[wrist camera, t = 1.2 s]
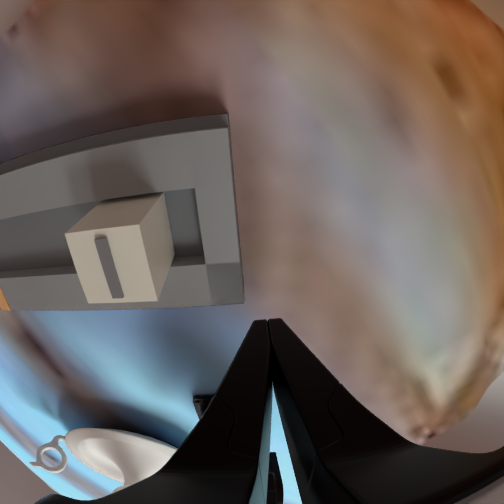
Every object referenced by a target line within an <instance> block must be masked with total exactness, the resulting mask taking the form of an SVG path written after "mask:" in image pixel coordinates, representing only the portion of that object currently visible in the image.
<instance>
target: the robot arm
mask: <svg viewBox="0 0 504 504" xmlns="http://www.w3.org/2000/svg"><path fill="white" fill-rule="evenodd" d="M272 382H273V386H272ZM273 388H274V393H275V397H276V401H277V405H278V409H279V413H280V417H281V421H282V425H283V429H284V433H285V437H286V441H287V445H288V449H289V453H290V457H291V461H292V465H293V469H294V473H295V477H296V481H297V485H298V489H299V493H300V497H301V501H302V504H504V446H503V447H501V448H500V449H498V450H495V451H492V452H488V453H467V452H459V451H452V450H445V449H438V448H432V447H426V446H421V445H418V444H415V443H413V442H410V441H408V440H407V439H405V438H404V437H402V436H401V435H399V434H398V433H397V432H395V431H394V430H393V429H392V428H390V427H389V426H388V425H387V424H385V423H384V422H383V421H381V420H380V419H379V418H378V417H376V416H375V415H374V414H373V413H371V412H370V411H369V410H368V409H367V408H365V407H364V406H363V405H362V404H361V403H360V402H359V401H358V400H356V399H355V398H354V397H353V396H352V395H351V394H350V393H349V392H348V391H347V389H346V388H345V387H344V386H343V385H342V384H341V383H339V381H338V380H337V379H336V378H335V377H334V376H333V375H332V373H331V372H330V371H329V370H328V369H327V368H326V367H325V366H324V365H323V364H322V363H321V362H320V360H319V359H318V358H317V357H316V356H315V355H314V354H313V353H312V352H311V351H310V350H309V349H308V347H307V346H306V345H305V344H304V343H303V342H302V341H301V340H300V339H299V338H298V336H297V335H296V334H295V333H294V332H293V331H292V330H291V329H290V328H289V327H288V325H287V324H286V323H285V322H284V321H283V320H282V319H281V318H276V319H269V320H268V322H267V320H265V319H264V320H255V321H253V323H252V325H251V327H250V329H249V331H248V333H247V334H246V336H245V338H244V340H243V342H242V344H241V346H240V348H239V350H238V352H237V354H236V356H235V357H234V359H233V361H232V363H231V365H230V367H229V369H228V371H227V373H226V374H225V376H224V378H223V380H222V382H221V384H220V386H219V388H218V389H217V391H216V393H215V395H213V396H194V397H193V404H194V406H195V409H196V412H197V414H198V417H199V422H198V423H197V424H196V426H195V427H194V429H193V430H192V431H191V433H190V434H189V435H188V436H187V438H186V439H185V440H184V442H183V443H182V444H181V445H180V447H179V448H178V449H177V450H176V452H175V453H174V454H173V455H172V457H171V458H170V459H169V460H168V462H167V463H166V464H165V465H164V466H163V467H162V468H161V469H160V470H159V471H157V472H156V473H154V474H153V475H151V476H150V477H148V478H145V479H143V480H141V481H139V482H137V483H135V484H133V485H131V486H128V487H126V488H124V489H122V490H119V491H117V492H115V493H112V494H110V495H108V496H105V497H103V498H99V499H96V500H89V501H87V500H76V499H72V498H69V497H66V496H62V495H59V494H49V495H47V496H46V497H43V498H42V499H40V500H38V501H37V502H36V503H35V504H283V484H282V479H281V474H280V470H279V465H278V461H277V456H276V452H270V434H271V414H272V390H273ZM269 452H270V453H269Z"/></svg>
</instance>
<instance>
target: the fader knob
mask: <svg viewBox="0 0 504 504" xmlns="http://www.w3.org/2000/svg"><path fill="white" fill-rule="evenodd" d="M65 237H66V240H67V244H68V247H69V250H70V253H71V256H72V259H73V262H74V265H75V268H76V271H77V274H78V277H79V280H80V283H81V285H82V288H83V291H84V293H85V296H86V299H87V301H88V304H90V303H125V302H150V301H158V299H159V297H160V294H161V291H162V288H163V285H164V282H165V280H166V277H167V274H168V271H169V269H170V266H171V263H172V261H173V258H174V255H175V251H174V246H173V241H172V235H171V230H170V224H169V219H168V213H167V207H166V201H165V195H164V192H158V193H151V194H143V195H136V196H128V197H121V198H115V199H108V200H103V201H101V202H100V203H99V204H98V205H97V206H95V207H94V208H93V209H92V210H91V211H90V212H88V213H87V214H86V215H85V216H84V217H83V218H81V219H80V220H79V221H78V222H77V223H76V224H75V225H74V226H72V227H71V228H70V229H69V230H68V231H67V232H66V233H65Z"/></svg>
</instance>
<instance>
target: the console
mask: <svg viewBox="0 0 504 504" xmlns="http://www.w3.org/2000/svg"><path fill="white" fill-rule="evenodd" d="M158 192H164V195H165V201H166V207H167V213H168V219H169V224H170V230H171V235H172V241H173V246H174V251H175V255H174V258H173V261H172V263H171V266H170V269H169V271H168V274H167V277H166V280H165V282H164V285H163V288H162V291H161V294H160V297H159V299H158V301H150V302H125V303H90V304H88V301H87V299H86V296H85V293H84V291H83V288H82V285H81V283H80V280H79V277H78V274H77V271H76V268H75V265H74V262H73V259H72V256H71V253H70V250H69V247H68V244H67V240H66V237H65V233H66V232H67V231H68V230H69V229H70V228H71V227H72V226H74V225H75V224H76V223H77V222H78V221H79V220H80V219H81V218H83V217H84V216H85V215H86V214H87V213H88V212H90V211H91V210H92V209H93V208H94V207H95V206H97V205H98V204H99V203H100V202H101V201H103V200H108V199H115V198H121V197H128V196H136V195H143V194H151V193H158ZM242 303H244V281H243V271H242V260H241V250H240V239H239V228H238V217H237V206H236V195H235V184H234V172H233V161H232V149H231V137H230V125H229V113H225V114H215V115H205V116H197V117H189V118H182V119H175V120H168V121H162V122H156V123H150V124H144V125H139V126H133V127H128V128H123V129H118V130H114V131H109V132H105V133H100V134H96V135H92V136H88V137H84V138H80V139H76V140H72V141H69V142H65V143H61V144H58V145H54V146H51V147H48V148H44V149H41V150H38V151H35V152H32V153H29V154H26V155H23V156H20V157H17V158H14V159H11V160H9V161H6V162H3V163H0V309H2V310H126V309H155V308H178V307H196V306H213V305H228V304H242Z"/></svg>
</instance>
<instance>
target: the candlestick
mask: <svg viewBox="0 0 504 504" xmlns="http://www.w3.org/2000/svg"><path fill="white" fill-rule="evenodd" d="M61 440H63V441H65V443H66V446H67V447H68V449H69V450H70V452H71V453H72V454H73V455H74V456H75V457H76V458H77V459H78V460H80V461H81V462H82V463H84V464H85V465H87V466H88V467H90V468H91V469H93V470H95V471H97V472H98V473H100V474H102V475H105V476H107V477H109V478H112V479H114V480H117V481H119V482H122V483H124V486H120V487H118V488H116V489H115V490H114V491H113V492H112V493H115V492H117V491H119V490H122V489H124V488H126V487H128V486H131V485H133V484H135V483H137V482H139V481H141V480H143V479H145V478H148V477H150V476H151V475H153V474H154V473H156V472H157V471H159V470H160V469H161V468H162V467H163V466H164V465H165V464H166V463H167V462H168V460H169V459H170V458H171V457H172V455H173V454H174V453H175V452H176V450H177V448H175V447H173V446H171V445H169V444H167V443H165V442H163V441H160V440H157V439H154V438H152V437H149V436H144V435H141V434H138V433H133V432H129V431H124V430H116V429H99V428H78V429H74V430H71V431H69V432H68V433H67V434H66V435H65V436H62V435H57V436H55V437H54V438H53V440H52V441H51V442H49V443H46V444H44V445H42V446H40V447H39V449H38V450H37V461H36V462H30V464H31V465H32V466H34V467H36V468H43V469H44V470H46V471H48V472H51V473H59V472H61V471H63V470H64V469H65V467H66V465H67V457H66V454H65V452H64V451H63V450H62V448H61V447H60V446H59V445H58V443H59V441H61ZM48 449H54V450H57V451H58V452H59V453H60V454H61V455H62V462H61V464H60V465H59V466H57V467H48V466H46V465H45V464H44V463H43V462H42V453H43V452H44V451H45V450H48ZM112 493H111V494H112Z"/></svg>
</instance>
